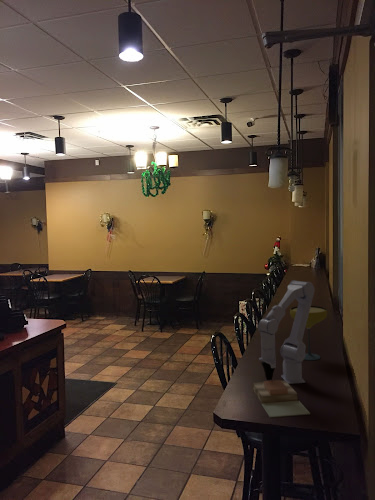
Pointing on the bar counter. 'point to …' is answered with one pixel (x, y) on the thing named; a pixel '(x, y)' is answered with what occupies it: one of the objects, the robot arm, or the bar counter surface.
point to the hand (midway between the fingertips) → (269, 379)
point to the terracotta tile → (275, 387)
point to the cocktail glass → (314, 317)
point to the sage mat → (285, 409)
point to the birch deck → (274, 398)
